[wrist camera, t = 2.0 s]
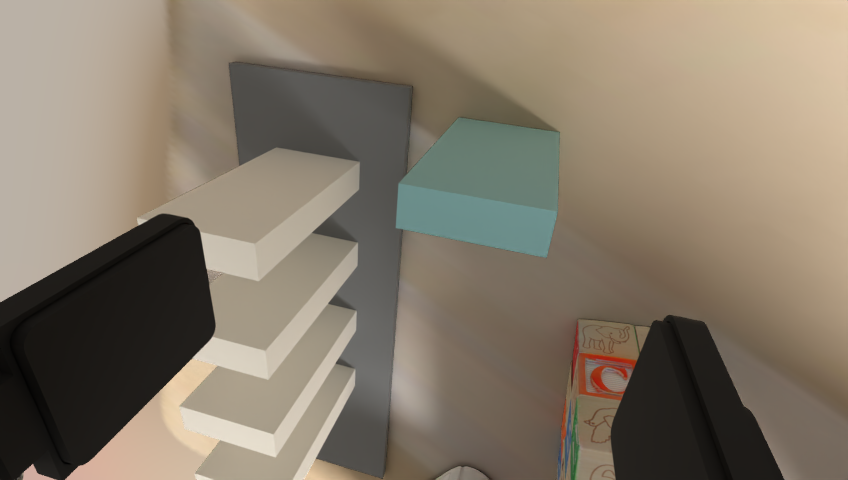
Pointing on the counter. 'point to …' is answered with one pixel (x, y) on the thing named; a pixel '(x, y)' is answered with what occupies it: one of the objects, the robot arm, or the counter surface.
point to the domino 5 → (485, 187)
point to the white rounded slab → (463, 474)
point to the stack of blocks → (596, 396)
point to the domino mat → (344, 219)
